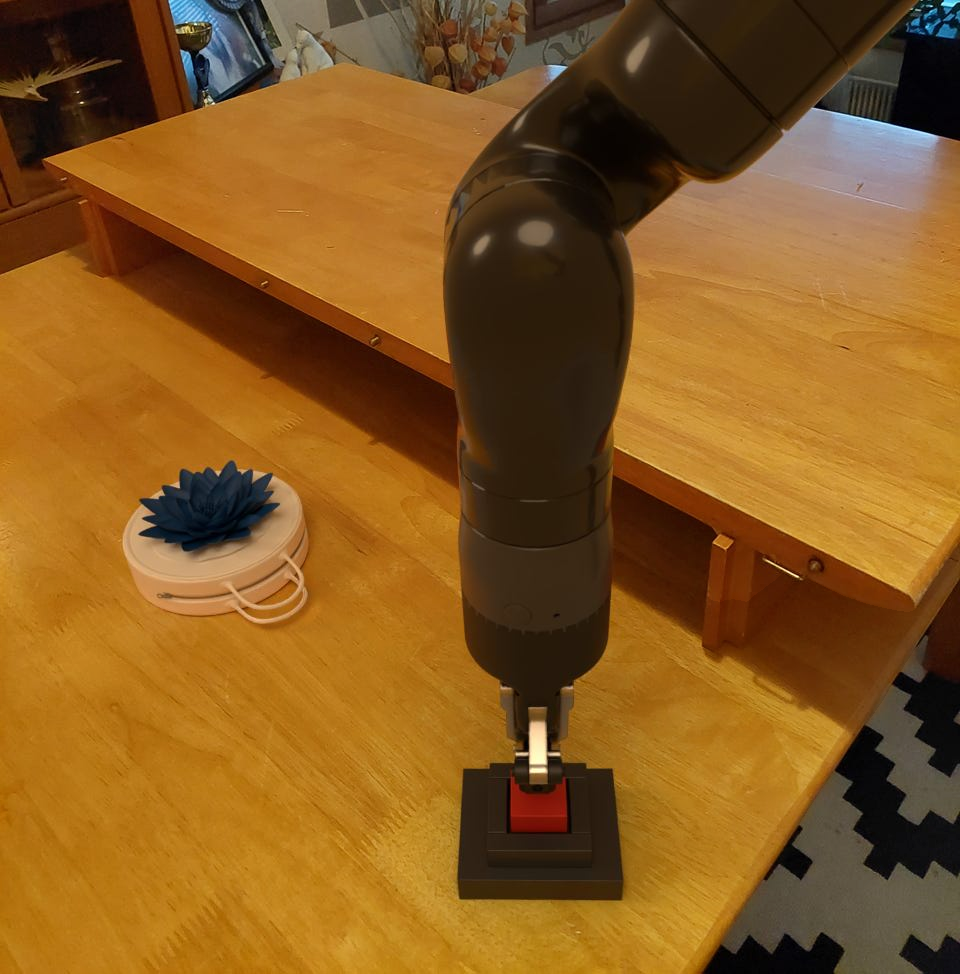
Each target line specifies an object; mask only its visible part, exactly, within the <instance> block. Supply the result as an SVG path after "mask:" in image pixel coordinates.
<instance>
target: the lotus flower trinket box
mask: <svg viewBox="0 0 960 974" xmlns="http://www.w3.org/2000/svg"><path fill="white" fill-rule="evenodd" d="M138 501H139V503H140V505H139V507H138V508H137V509H136V510H135V511H134V513H133V514H132V515H131V517H130V518H129V519H128V521H127V524H126V525H125V528H124V530H123V534H122V542H121V543H122V549H123V554H124V557H125V559H126V562H127V564H128V567H129V570H130V572H131V575H132V579H133V580H134V583H135V586H136V588H137V590H138V592H139V593H140V595H141V596H142V597H143V598H144V599H145V600H146V601H148V602H149V603H150V604H152V605H153V606H155V607H157V608H158V609H161V610H164V611H166V612H170V613H174V614H178V615H184V616H195V617H196V616H197V617H201V616H202V617H203V616H205V617H206V616H214V615H221V614H222V615H223V614H227V613H231V612H235V611H237V612H238V613H239V614H240V615H241V616H242V617H244V618H245V619H246V620H248V621H250V622H251V623H254V624H259V625H261V624H262V625H267V624H273V623H278V622H280V621H284V620H286V619H288V618H291V617H292V616H294V615H295V614H297V613H298V612H299V611H300V610H301V609H302V608H303V607H304V606H305V604H306V602H307V601H308V598H309V597H308V596H309V593H308V590H307V588H306V586H305V577H304V573H303V571H302V570H301V568H302V566H303V565H304V562H305V560H306V558H307V555H308V552H309V547H310V546H309V545H310V540H309V533H308V528H307V524H306V519H305V518H306V517H305V514H304V509H303V504H302V500H301V498H300V496H299V495H298V493H297V491H296V490H295V489H294V488H293V486H291V485H290V484H289V483H287V482H286V481H284V480H283V479H281V478H279V477H278V476H275V475H274V472H268V473H267V472H263V471H259V470H254V469H252V468H249V469H241V468H240V469H239V468H238V467H237V464H236V462H235V461H234V460H233V459H230V460H229V461H227V462H226V464H225V465H224V466H223V468H222V469H220V470H219V469H218V470H214V469H213V468H211V467H210V466H206V467H205V469H204V470H203V472H200V471H196V472H194V473H193V472H192V471H190V470H188V469H187V468H181V469H180V470H179V475H178V481H176V482H173V483H171V484H170V485H168V484H162V485H161V490H159V491H157V492H155V493H154V494H153V495H151V496H150V497H142V498H139V499H138ZM296 574H297V575H298V578H299V579H298V578H297V577H296V576H295V575H296ZM290 581H292V582H294V583H295V584H296V585H297V588H296V590H295V591H294V592H293V593H292V594H291V595H290V596H289V597H288V598H287V599H285V600H283V601H281V602H277V603H274V604H273V603H272V604H266V605H262V604H258V603H260V602H261V601H263V600H265V599H267V598H269V597H271V596H272V595H274V594H275V593H276V592H278V591H280V590H281V589H282V588H283V587H284V586H286V585H287V584H288V583H289V582H290ZM301 592H302V597H301V600H300V602H299V603H298V604H297V605H296V606H295V607H294V608H292V610H290V611H289V612H286V613H284V614H282V615H278V616H276V617H271V618H270V617H269V618H258V617H254V616H252V615H250V614H248V613H247V612H246V611H244V610H243V609H245V608H250V609H252V610H257V611H271V610H272V611H273V610H276V609H280V608H282V607H284V606H288V605H289V604H290V603H291V602H293V601H294V600H295V599H296V598H297V597H299V595H300V594H301Z"/></svg>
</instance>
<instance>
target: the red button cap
mask: <svg viewBox="0 0 960 974" xmlns="http://www.w3.org/2000/svg"><path fill="white" fill-rule="evenodd" d="M511 831H512V832H567V800H566V779H565V777H563V784H556V789H555V790H554V791H553V792H550V793H549V794H526V793H525V792H522V791H521V790H520V789H519V784H515V782H514V777H512V774H511Z"/></svg>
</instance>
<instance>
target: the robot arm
mask: <svg viewBox="0 0 960 974" xmlns="http://www.w3.org/2000/svg"><path fill="white" fill-rule="evenodd" d="M919 1H920V0H629V1H628V2H627V4H626V5H625V6H624V7H623V9H622V10H621V11H620V13H619V14H618V16H617V17H616V19H614V21H613V23H612V24H611V25H610V26H609V28H608V29H607V30H606V31H605V32H604V34H602V36H601V37H600V38H599V39H598V40H597V41H596V42H595V43H594V44H592V46H590V47H589V48H588V49H587V50H586V51H585V52H584V53H582V54H581V55H579V57H578V58H577V59H575V60H574V61H572V62H571V63H570V64H568V66H567V67H565V68H564V69H563V70H562V71H561V72H560V73H559V74H558V75H557V76H556V77H555V78H553V79H552V80H551V81H550V82H549V83H548V84H547V85H545V87H544V88H543V89H541V90H540V91H539V92H538V93H537V94H536V95H535V96H534V97H533V98H532V99H531V100H530V101H529V102H527V104H526V105H524V107H522V108H521V109H520V110H519V111H518V112H517V113H516V114H515V115H514V116H513V117H512V118H511V119H510V120H509V121H508V122H507V123H506V124H505V125H504V126H503V127H502V128H501V129H500V130H499V131H498V132H497V133H496V134H495V135H494V136H493V138H491V140H490V141H489V142H488V144H487V145H485V147H484V148H483V149H482V150H481V152H480V153H479V154H478V155H477V157H476V158H475V159H474V161H473V162H472V163H471V164H470V166H469V167H468V169H467V170H466V172H465V173H464V174H463V176H462V178H461V179H460V181H459V183H458V184H457V186H456V188H455V190H454V192H453V193H452V196H451V199H450V201H449V204H448V205H447V206H448V207H447V210H446V214H445V220H444V229H443V230H444V232H443V236H444V237H443V259H442V262H443V264H442V299H443V312H444V313H443V315H444V323H445V325H444V326H445V334H446V343H447V344H446V345H447V350H448V351H447V352H448V359H449V366H450V374H451V380H452V385H453V386H452V387H453V392H454V396H455V403H456V408H457V413H458V417H457V428H456V460H457V475H458V490H459V502H460V504H459V505H460V508H459V509H460V510H459V511H460V512H459V513H460V514H459V522H458V534H457V551H458V563H459V577H460V590H461V602H462V603H461V604H462V619H463V631H464V632H463V633H464V641H465V644H466V648H467V650H468V652H469V654H470V656H471V658H472V659H473V660H474V662H475V663H476V664H477V665H478V667H480V668H481V669H482V670H483V671H484V672H486V673H487V674H488V675H490V676H491V677H493V678H494V679H496V680H498V681H499V703H500V704H499V705H500V708H501V709H502V710H503V711H504V713H505V732H506V733H505V735H506V738H507V739H508V740H511V741H514V742H515V743H513V754H514V761H513V762H512V763H513V767H511V774H512V777H514V782H515V784H519V789H520V790H521V791H522V792H525V793H526V794H549V793H550V792H553V791H554V790H555V789H556V784H563V777H565V767H563V766H562V763H563V759H562V743H560V742H561V741H564V740H566V739H568V737H569V721H570V719H569V718H570V711H572V710H573V709H574V706H575V681H576V680H578V679H580V678H581V677H583V676H584V675H586V674H587V673H589V672H590V671H591V670H592V669H593V668H594V667H595V666H596V665H597V664H598V663H599V662H600V660H602V657H603V656H604V653H605V651H606V650H607V646H608V641H609V635H610V633H609V632H610V619H611V618H610V617H611V602H612V601H611V600H612V584H613V569H614V554H615V553H614V550H615V538H614V537H615V533H614V523H613V517H612V515H613V514H612V491H613V473H614V457H615V456H614V453H615V434H614V432H615V431H614V422H615V419H616V416H617V413H618V410H619V405H620V401H621V397H622V392H623V388H624V384H625V379H626V375H627V369H628V365H629V360H630V354H631V348H632V340H633V335H634V334H633V333H634V321H635V299H636V298H635V297H636V296H635V295H636V292H635V289H636V288H635V287H636V286H635V271H634V264H633V258H632V255H631V250H630V249H629V245H628V242H627V239H626V237H627V236H628V235H629V234H630V233H631V232H632V231H633V230H634V229H635V228H636V227H637V226H638V225H639V224H641V222H642V221H643V220H645V219H646V218H648V216H650V215H651V213H653V212H654V211H655V210H656V209H657V208H659V207H660V206H662V204H664V203H665V202H666V201H667V200H668V199H670V198H671V197H672V196H673V195H675V193H677V192H679V190H680V189H682V188H683V187H684V186H685V185H687V184H688V183H690V182H693V181H694V182H698V183H700V184H706V185H718V184H723V183H727V182H729V181H732V180H733V179H735V178H737V177H738V176H740V175H741V174H743V173H744V172H745V171H747V170H748V169H749V168H750V167H752V166H753V165H754V164H756V162H757V161H759V160H760V159H761V158H762V157H763V156H764V155H765V154H766V153H767V152H769V151H770V150H771V149H772V148H773V147H774V146H775V145H777V143H778V142H779V141H780V140H781V139H782V138H784V134H785V133H784V132H789V131H790V130H792V128H794V126H795V125H797V123H799V122H800V121H801V120H802V118H803V117H804V116H806V115H807V113H808V112H810V111H811V110H812V109H813V108H814V107H815V106H816V105H817V104H818V103H819V102H820V101H821V100H822V99H823V98H824V96H826V95H827V93H829V92H830V91H831V90H832V89H833V88H834V87H835V86H836V85H837V84H838V83H839V82H840V81H841V80H842V79H843V78H844V77H845V76H846V75H847V74H848V72H849V70H851V69H853V68H854V67H855V66H856V65H857V64H858V63H859V62H860V61H861V59H863V58H864V57H865V55H867V53H869V52H870V50H872V49H873V48H874V47H875V45H877V44H878V43H879V42H880V41H881V40H882V38H883V37H884V36H886V35H887V34H888V33H889V32H890V30H892V28H894V27H895V26H896V25H897V24H898V22H899V21H900V20H902V19H903V17H905V16H906V15H907V13H909V11H910V10H911V9H913V7H915V5H917V4H918V3H919ZM783 131H784V132H783Z"/></svg>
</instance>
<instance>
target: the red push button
mask: <svg viewBox="0 0 960 974" xmlns="http://www.w3.org/2000/svg"><path fill="white" fill-rule="evenodd" d="M513 763H514V762H489V765H488V768H463V769H462V782H461V783H462V786H461V804H460V823H459V839H458V840H459V841H458V859H457V876H456V877H457V878H456V881H457V891H458V898H459V900H526V901H527V900H529V901H530V900H531V901H532V900H533V901H536V900H537V901H540V900H541V901H542V900H544V901H623V891H624V882H625V880H624V872H623V861H622V860H623V859H622V849H621V839H620V829H619V821H618V820H619V818H618V809H617V799H616V798H617V797H616V788H615V779H614V778H615V777H614V769H613V768H611V767H610V768H607V767H606V768H604V767H603V768H599V767H598V768H597V767H596V768H595V767H593V768H587V766H588V765H587V763H586V762H562V766H563V767H565V779H566V800H567V832H512V831H511V767H513Z"/></svg>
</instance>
